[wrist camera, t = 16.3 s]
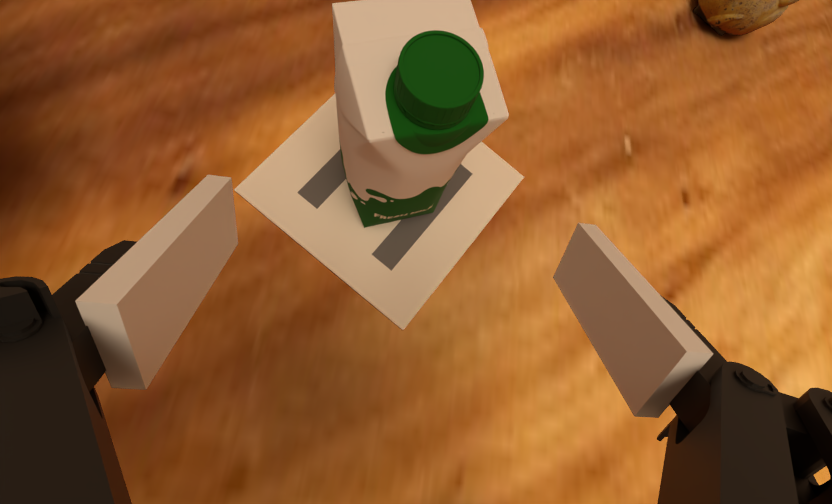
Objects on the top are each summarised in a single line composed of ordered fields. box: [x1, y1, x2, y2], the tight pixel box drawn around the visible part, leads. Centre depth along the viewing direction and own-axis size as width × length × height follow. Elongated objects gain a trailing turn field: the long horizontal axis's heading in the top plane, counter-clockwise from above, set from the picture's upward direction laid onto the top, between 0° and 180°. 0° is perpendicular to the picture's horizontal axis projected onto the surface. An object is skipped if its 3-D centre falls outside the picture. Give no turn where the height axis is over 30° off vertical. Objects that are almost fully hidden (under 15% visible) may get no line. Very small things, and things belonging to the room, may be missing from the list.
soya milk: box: [332, 0, 509, 228], centre depth 27 cm, size 9×9×20 cm
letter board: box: [234, 94, 524, 330], centre depth 37 cm, size 20×20×1 cm
